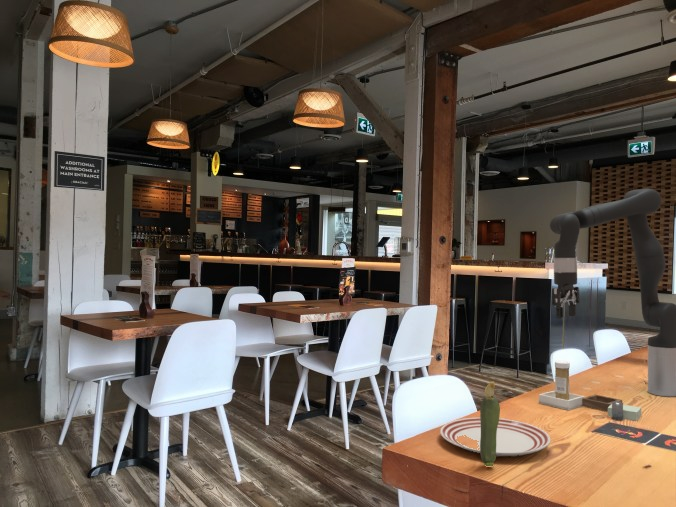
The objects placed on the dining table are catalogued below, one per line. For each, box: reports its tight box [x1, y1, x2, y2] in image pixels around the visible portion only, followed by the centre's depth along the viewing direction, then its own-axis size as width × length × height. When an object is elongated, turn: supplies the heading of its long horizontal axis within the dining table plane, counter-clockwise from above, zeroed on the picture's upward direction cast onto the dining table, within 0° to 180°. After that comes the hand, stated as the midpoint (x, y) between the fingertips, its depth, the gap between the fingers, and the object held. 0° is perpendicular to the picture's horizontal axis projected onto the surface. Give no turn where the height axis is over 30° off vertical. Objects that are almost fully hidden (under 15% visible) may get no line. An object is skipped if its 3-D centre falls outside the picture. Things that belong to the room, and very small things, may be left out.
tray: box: [538, 389, 586, 411], centre depth 177 cm, size 10×10×3 cm
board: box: [607, 404, 642, 422], centre depth 164 cm, size 7×8×3 cm
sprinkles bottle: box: [554, 360, 570, 400], centre depth 177 cm, size 5×5×14 cm
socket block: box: [581, 394, 623, 413], centre depth 174 cm, size 9×9×2 cm
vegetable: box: [479, 380, 501, 467], centre depth 122 cm, size 4×4×20 cm
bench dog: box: [611, 401, 624, 422], centre depth 161 cm, size 3×3×5 cm
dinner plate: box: [439, 416, 551, 457], centre depth 138 cm, size 28×27×3 cm
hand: (566, 317), depth 185 cm, fingers open, 8 cm apart
